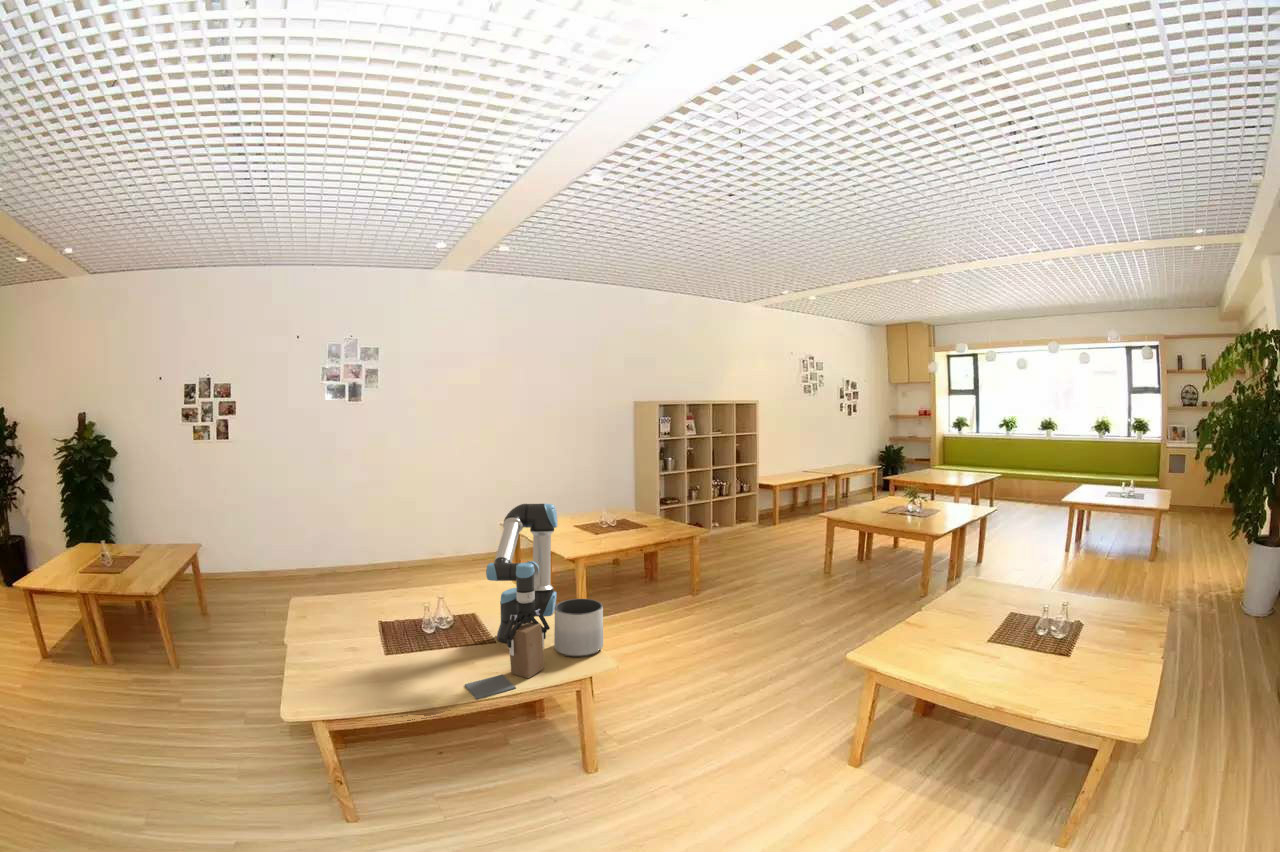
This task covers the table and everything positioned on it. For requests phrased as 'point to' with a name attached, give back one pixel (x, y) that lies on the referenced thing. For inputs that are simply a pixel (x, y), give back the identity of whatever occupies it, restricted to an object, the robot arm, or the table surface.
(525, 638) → the wooden block
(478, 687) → the mat
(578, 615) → the planter
